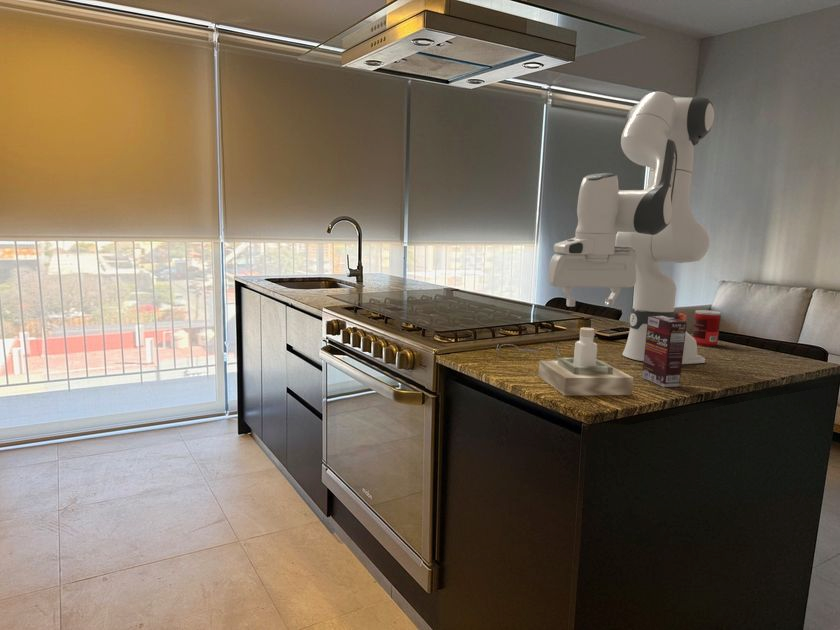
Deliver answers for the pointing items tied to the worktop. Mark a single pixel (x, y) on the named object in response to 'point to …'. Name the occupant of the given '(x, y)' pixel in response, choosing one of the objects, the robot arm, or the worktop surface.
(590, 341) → the pepper shaker
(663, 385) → the supplement box
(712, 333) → the canned food
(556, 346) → the eyeglasses
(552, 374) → the block
